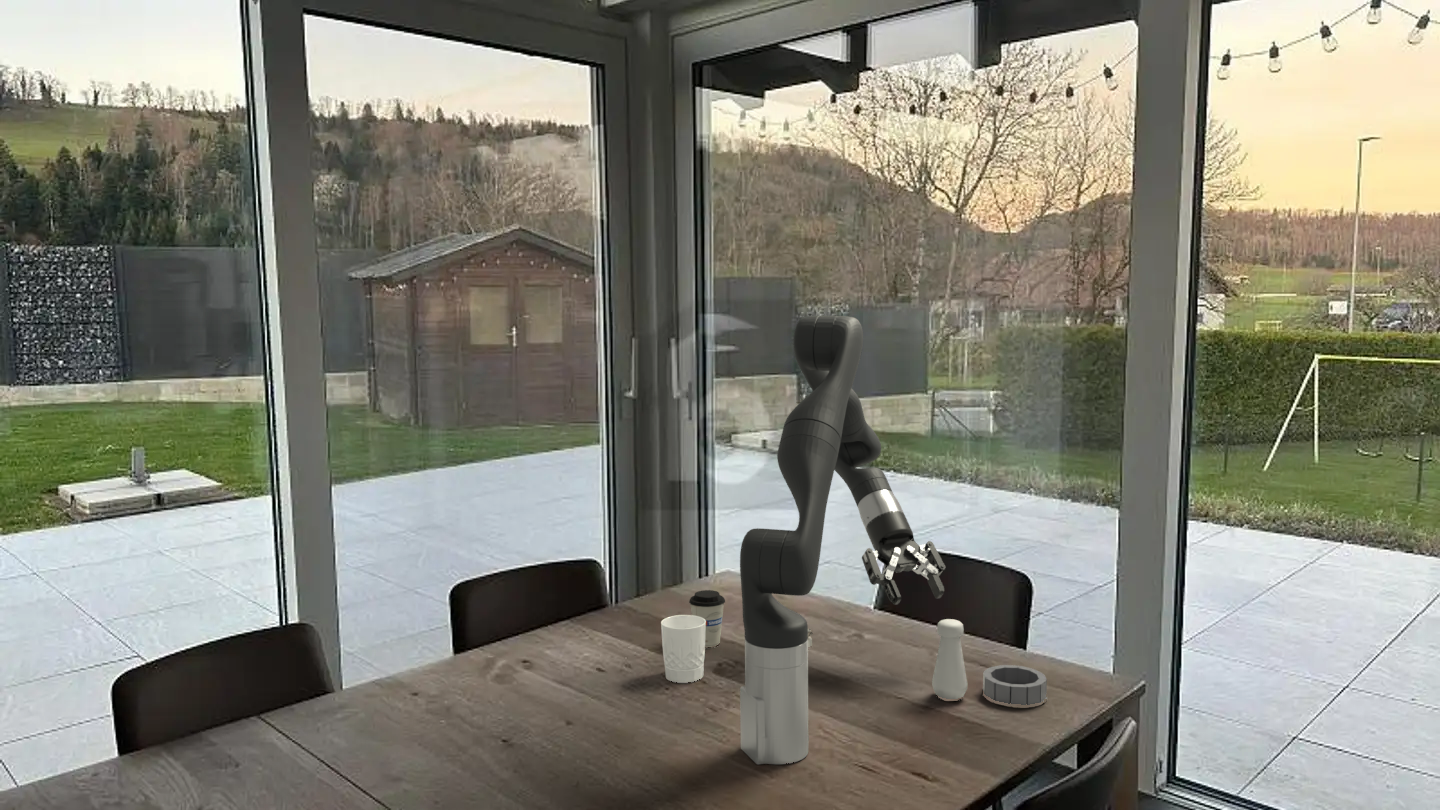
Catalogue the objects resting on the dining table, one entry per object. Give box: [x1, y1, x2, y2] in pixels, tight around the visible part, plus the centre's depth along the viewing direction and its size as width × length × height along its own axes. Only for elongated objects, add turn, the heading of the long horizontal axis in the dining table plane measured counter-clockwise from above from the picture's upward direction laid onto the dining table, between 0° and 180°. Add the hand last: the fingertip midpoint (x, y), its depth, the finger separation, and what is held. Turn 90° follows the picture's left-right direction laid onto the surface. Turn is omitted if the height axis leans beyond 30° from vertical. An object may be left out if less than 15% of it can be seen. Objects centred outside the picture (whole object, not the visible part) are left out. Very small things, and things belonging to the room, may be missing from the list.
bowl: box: [982, 664, 1048, 705], centre depth 173 cm, size 10×10×4 cm
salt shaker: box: [931, 618, 969, 699], centre depth 173 cm, size 6×6×13 cm
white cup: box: [660, 614, 706, 684], centre depth 184 cm, size 8×8×10 cm
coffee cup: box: [688, 589, 726, 647], centre depth 201 cm, size 7×7×10 cm
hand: (919, 599), depth 180 cm, fingers open, 8 cm apart
